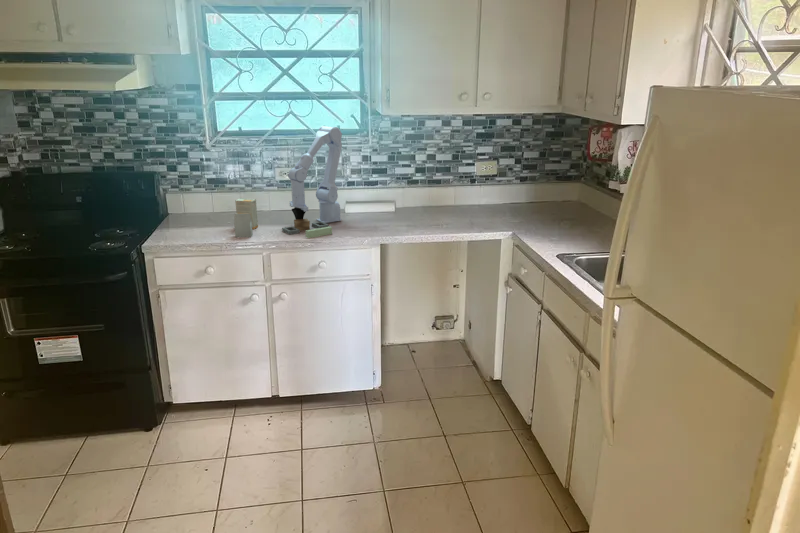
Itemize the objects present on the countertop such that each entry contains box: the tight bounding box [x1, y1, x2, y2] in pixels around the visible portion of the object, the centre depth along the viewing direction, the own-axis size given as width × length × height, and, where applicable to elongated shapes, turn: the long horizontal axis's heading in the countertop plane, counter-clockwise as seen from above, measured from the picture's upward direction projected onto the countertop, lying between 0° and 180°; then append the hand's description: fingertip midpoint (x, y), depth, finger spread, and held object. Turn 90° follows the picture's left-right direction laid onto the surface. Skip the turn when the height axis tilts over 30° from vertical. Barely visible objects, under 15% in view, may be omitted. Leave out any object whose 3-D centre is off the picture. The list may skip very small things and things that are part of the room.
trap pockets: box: [281, 221, 333, 239], centre depth 269 cm, size 20×16×3 cm
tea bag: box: [233, 213, 253, 238], centre depth 260 cm, size 4×7×10 cm, turn 93°
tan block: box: [293, 218, 311, 232], centre depth 273 cm, size 6×5×4 cm
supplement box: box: [234, 197, 259, 230], centre depth 273 cm, size 8×5×13 cm, turn 74°
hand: (299, 223), depth 277 cm, fingers closed
